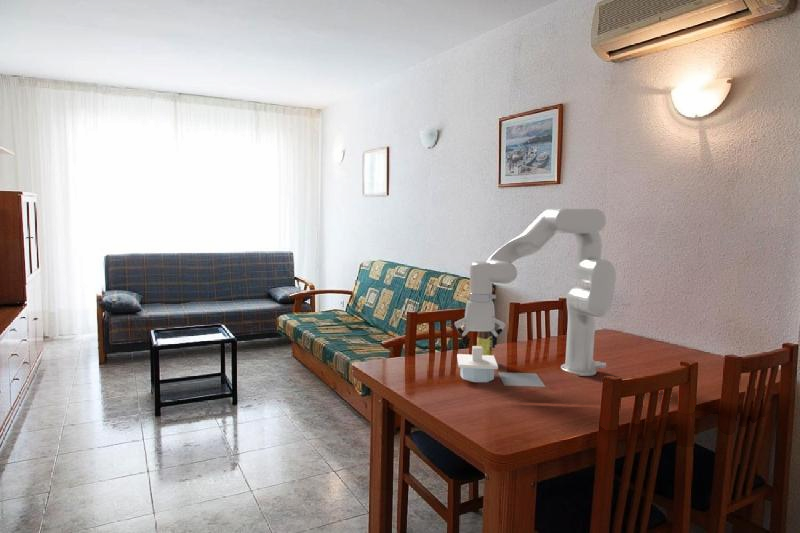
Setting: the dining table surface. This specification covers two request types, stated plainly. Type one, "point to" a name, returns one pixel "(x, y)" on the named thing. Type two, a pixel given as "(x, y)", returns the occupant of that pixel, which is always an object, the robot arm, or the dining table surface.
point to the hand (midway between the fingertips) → (479, 346)
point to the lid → (476, 360)
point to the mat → (521, 379)
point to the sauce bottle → (485, 342)
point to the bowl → (477, 374)
